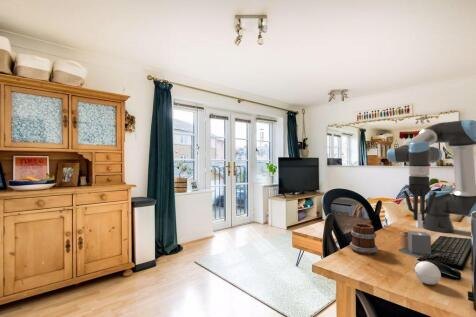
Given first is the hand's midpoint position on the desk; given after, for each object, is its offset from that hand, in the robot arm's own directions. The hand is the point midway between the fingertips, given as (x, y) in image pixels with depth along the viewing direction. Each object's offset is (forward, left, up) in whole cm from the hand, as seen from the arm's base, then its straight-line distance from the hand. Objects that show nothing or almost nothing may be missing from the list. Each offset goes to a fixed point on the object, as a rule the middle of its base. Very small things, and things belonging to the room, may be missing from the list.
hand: (418, 227), depth 113 cm
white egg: (+27, +19, -12) cm, 35 cm away
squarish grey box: (0, 0, -11) cm, 11 cm away
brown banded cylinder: (+19, -13, -12) cm, 26 cm away
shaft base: (0, 0, -12) cm, 12 cm away
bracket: (-9, -8, -13) cm, 18 cm away
